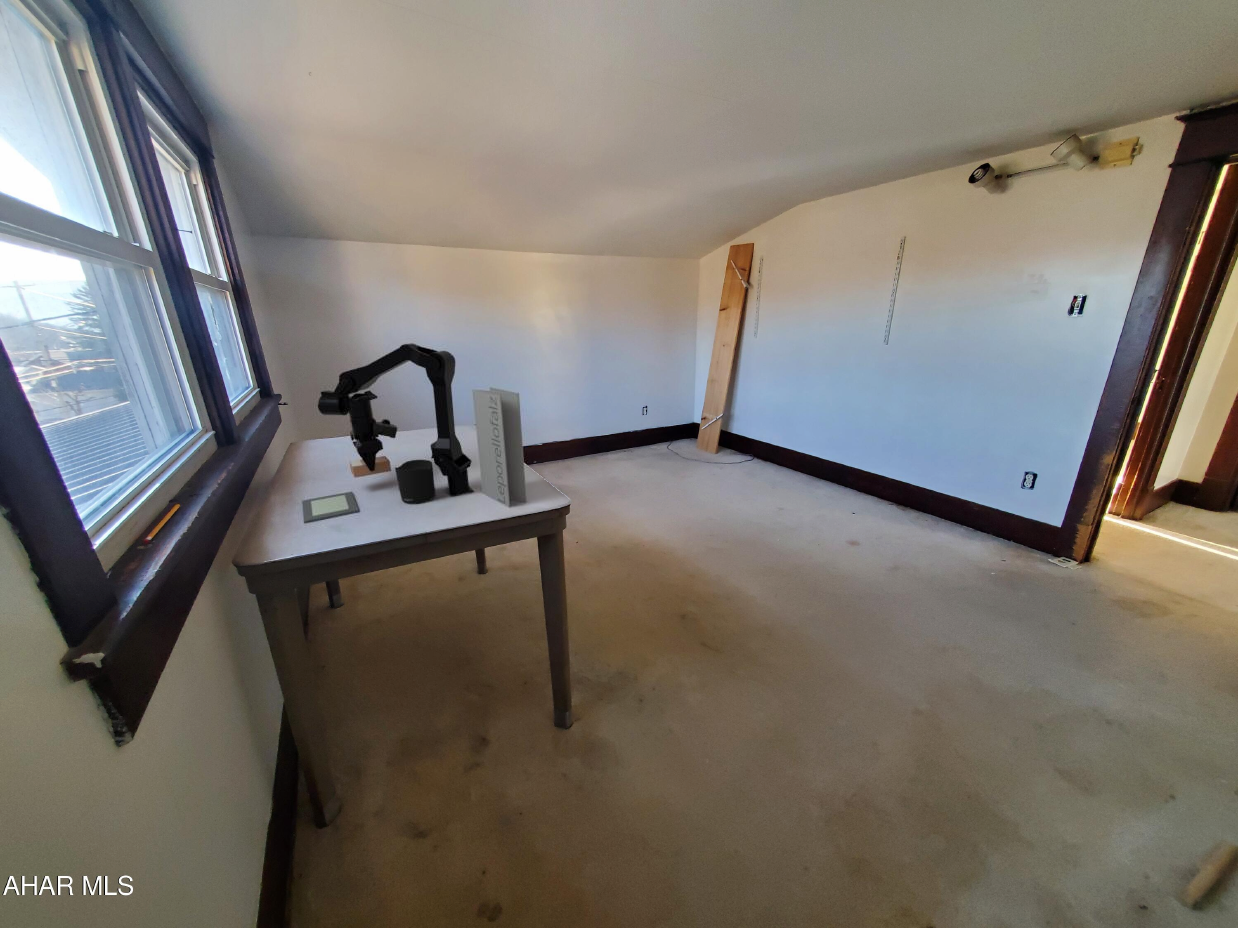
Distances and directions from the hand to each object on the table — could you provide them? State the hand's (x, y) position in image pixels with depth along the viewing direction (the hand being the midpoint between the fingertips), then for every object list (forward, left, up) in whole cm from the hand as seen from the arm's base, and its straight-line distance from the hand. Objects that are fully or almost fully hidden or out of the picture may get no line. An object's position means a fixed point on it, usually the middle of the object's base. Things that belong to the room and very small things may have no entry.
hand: (370, 468), depth 134 cm
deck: (0, 0, -1) cm, 1 cm away
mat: (-8, +12, -7) cm, 16 cm away
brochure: (-28, -29, -7) cm, 41 cm away
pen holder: (-15, -9, -7) cm, 19 cm away
